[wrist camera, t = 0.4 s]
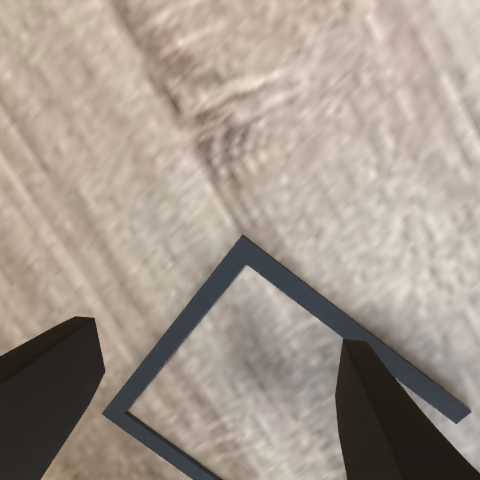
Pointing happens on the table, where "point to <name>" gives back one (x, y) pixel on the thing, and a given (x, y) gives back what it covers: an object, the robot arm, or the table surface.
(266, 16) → the table surface
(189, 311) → the frame
